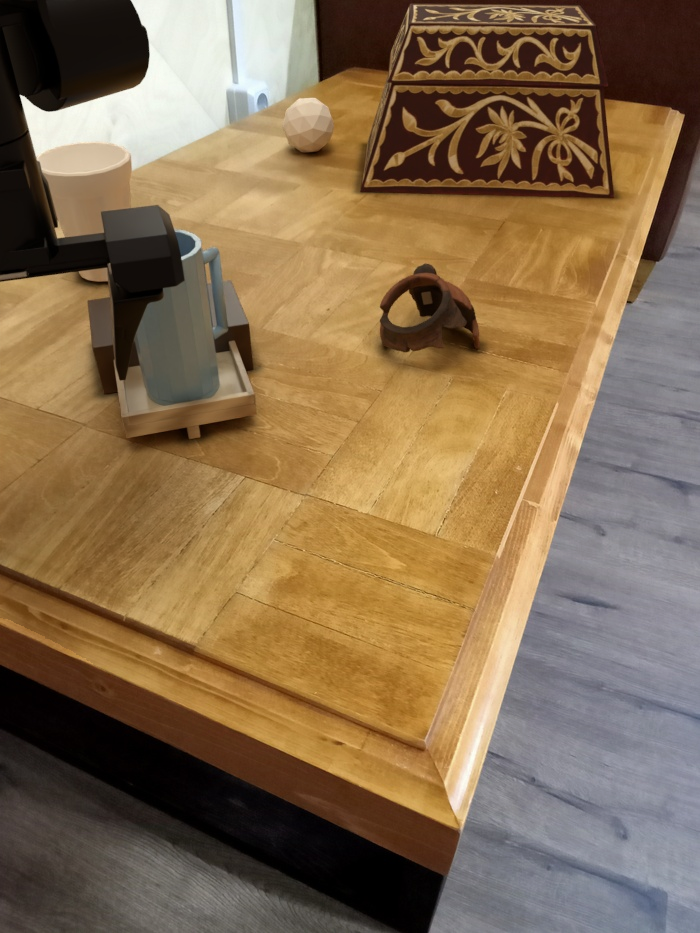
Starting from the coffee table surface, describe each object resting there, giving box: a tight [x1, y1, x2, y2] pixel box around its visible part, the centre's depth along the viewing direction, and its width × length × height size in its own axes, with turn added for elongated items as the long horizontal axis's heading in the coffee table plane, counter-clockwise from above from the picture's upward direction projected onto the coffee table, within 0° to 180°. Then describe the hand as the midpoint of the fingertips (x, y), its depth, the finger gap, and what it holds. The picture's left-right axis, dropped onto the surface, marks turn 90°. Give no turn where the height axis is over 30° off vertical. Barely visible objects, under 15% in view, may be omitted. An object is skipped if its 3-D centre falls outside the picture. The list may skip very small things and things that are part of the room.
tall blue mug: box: [135, 228, 228, 406], centre depth 65 cm, size 9×6×13 cm
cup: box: [36, 141, 133, 282], centre depth 86 cm, size 10×10×13 cm
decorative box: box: [359, 2, 615, 199], centre depth 108 cm, size 35×19×20 cm, turn 86°
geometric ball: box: [282, 97, 335, 153], centre depth 119 cm, size 8×8×8 cm
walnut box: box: [86, 279, 257, 440], centre depth 71 cm, size 14×18×5 cm
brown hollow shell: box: [379, 263, 481, 353], centre depth 77 cm, size 12×10×8 cm
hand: (48, 389), depth 49 cm, fingers open, 9 cm apart
